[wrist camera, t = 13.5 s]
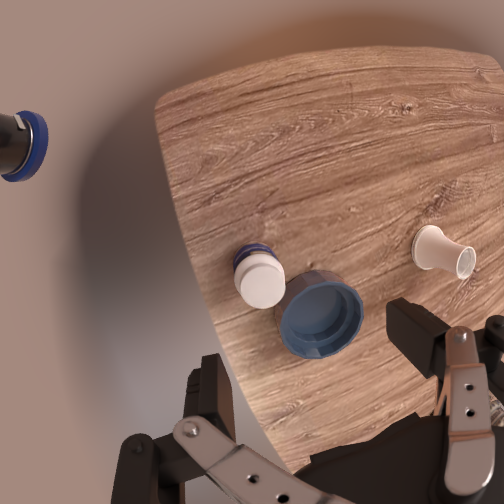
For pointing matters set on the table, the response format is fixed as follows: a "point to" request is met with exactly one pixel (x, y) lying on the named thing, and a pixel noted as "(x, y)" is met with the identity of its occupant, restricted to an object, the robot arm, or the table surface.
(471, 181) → the table surface
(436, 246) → the vase
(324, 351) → the bowl
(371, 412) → the table surface
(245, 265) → the pill bottle
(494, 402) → the apothecary jar
